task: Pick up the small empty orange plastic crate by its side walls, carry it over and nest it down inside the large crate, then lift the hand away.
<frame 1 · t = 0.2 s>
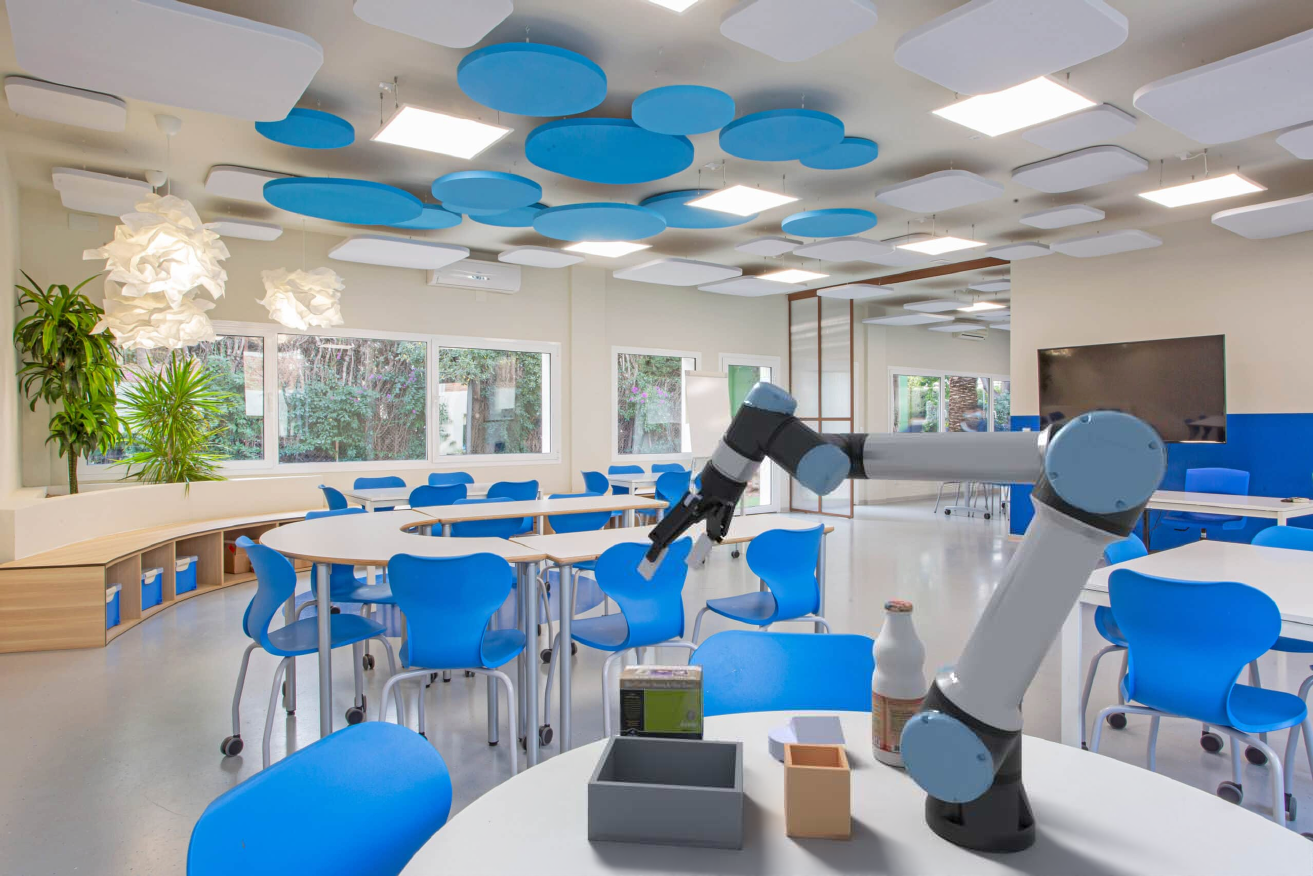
hand: (667, 570, 129), 35 cm above the table, tool tilted 35°, fingers open, 13 cm apart
large crate: (670, 813, 116), on the table
fruit juice: (898, 758, 137), on the table
small crate: (815, 822, 113), on the table
tea box: (662, 751, 140), on the table
wedge on round base: (803, 754, 139), on the table
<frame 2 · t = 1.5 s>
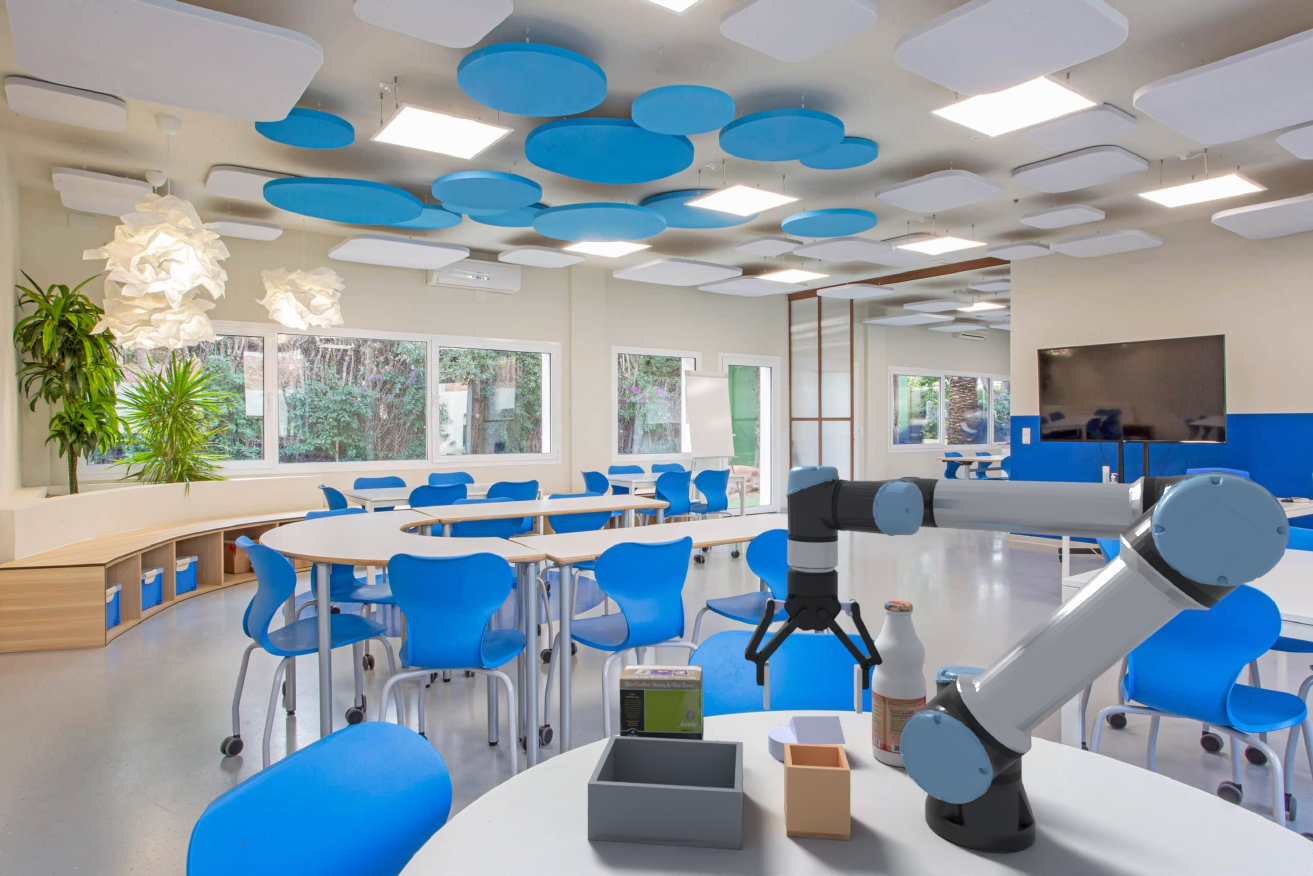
hand: (811, 708, 114), 17 cm above the table, tool pointing down, fingers open, 13 cm apart
nothing on the table moved.
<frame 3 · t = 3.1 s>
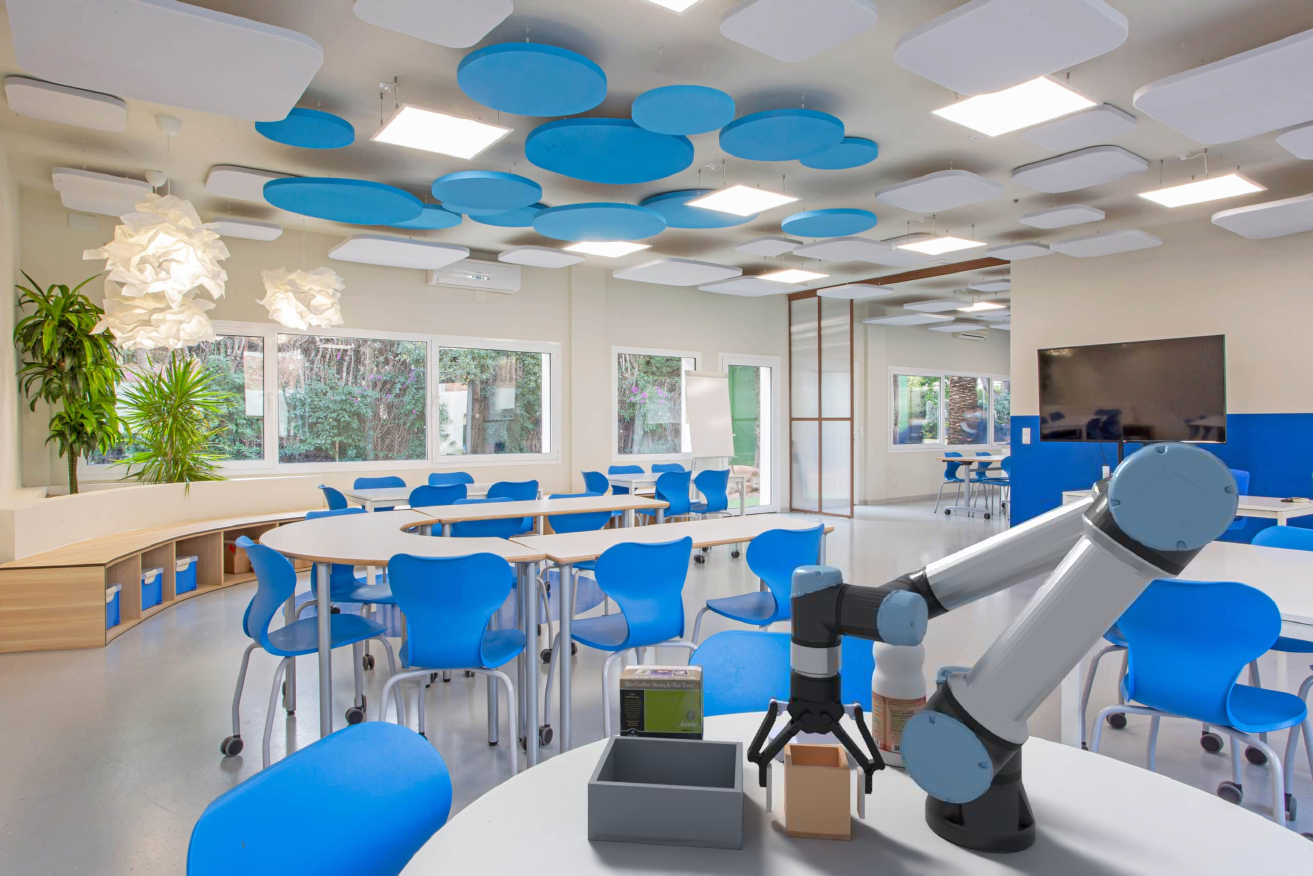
hand: (814, 811, 113), 2 cm above the table, tool pointing down, fingers open, 13 cm apart
nothing on the table moved.
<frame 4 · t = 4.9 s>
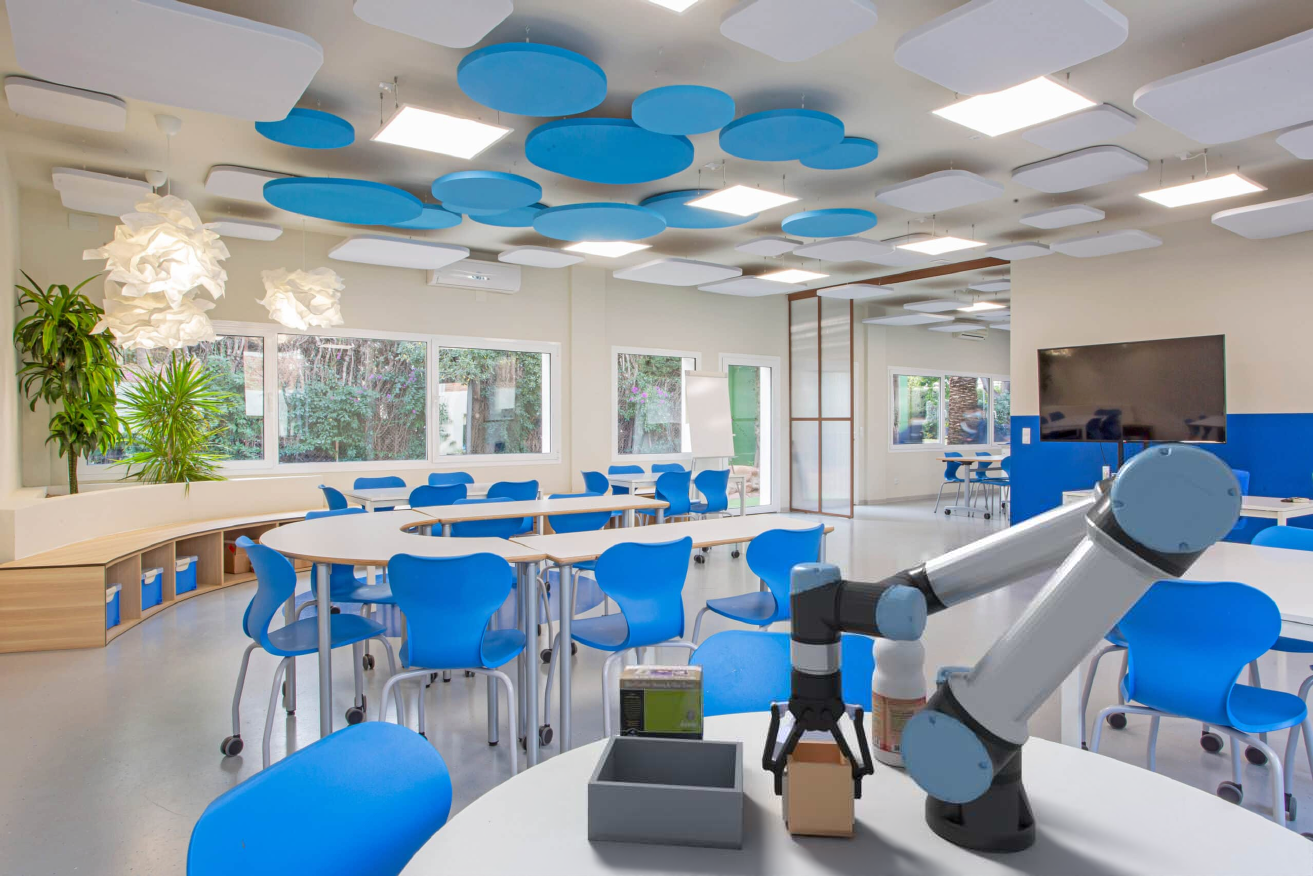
hand: (817, 817, 113), 1 cm above the table, tool pointing down, fingers closed on small crate, 9 cm apart
small crate: (817, 819, 113), point 1 cm above the table, touching gripper
everything else where it was.
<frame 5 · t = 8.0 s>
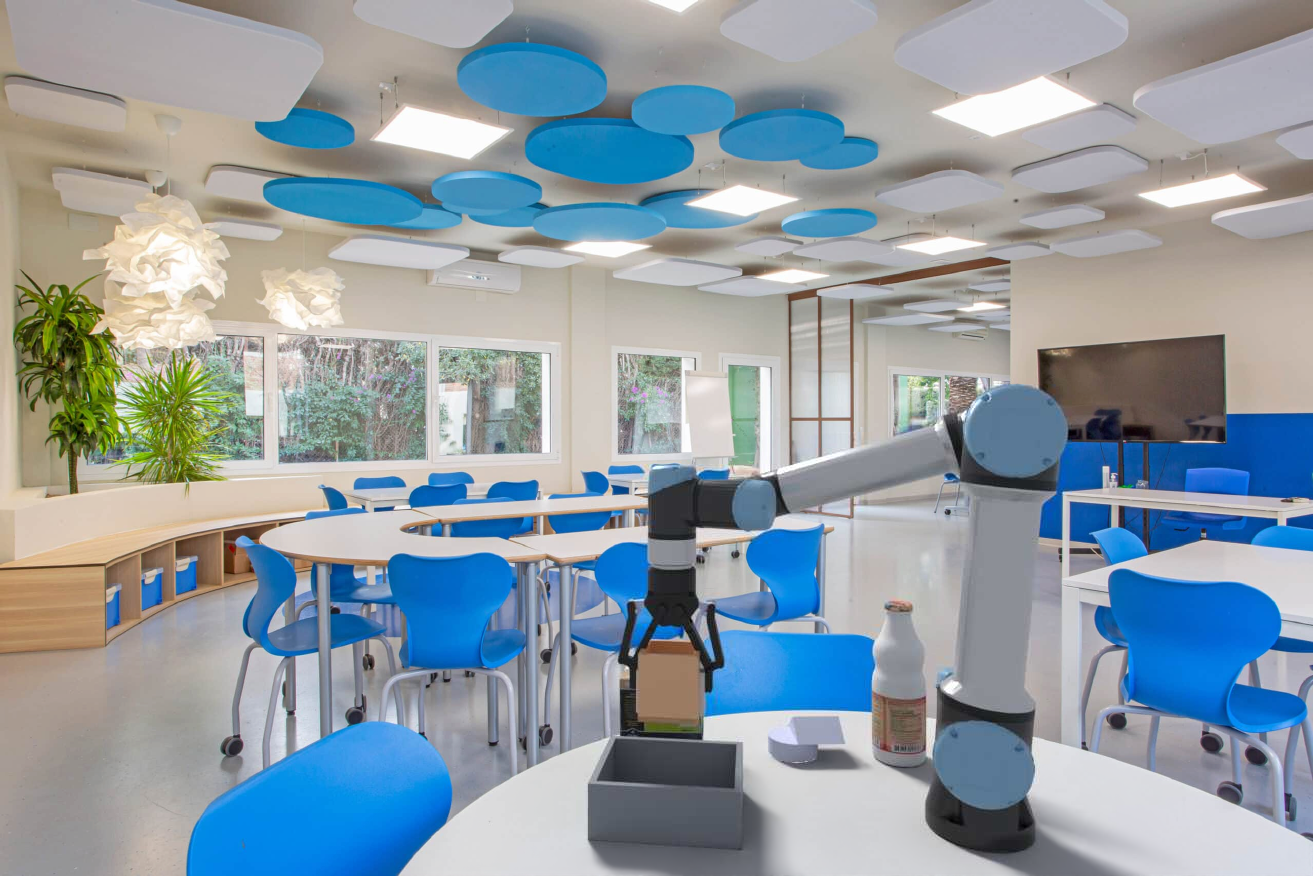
hand: (671, 711, 116), 16 cm above the table, tool pointing down, fingers closed on small crate, 9 cm apart
small crate: (671, 712, 116), point 16 cm above the table, touching gripper
everything else where it was.
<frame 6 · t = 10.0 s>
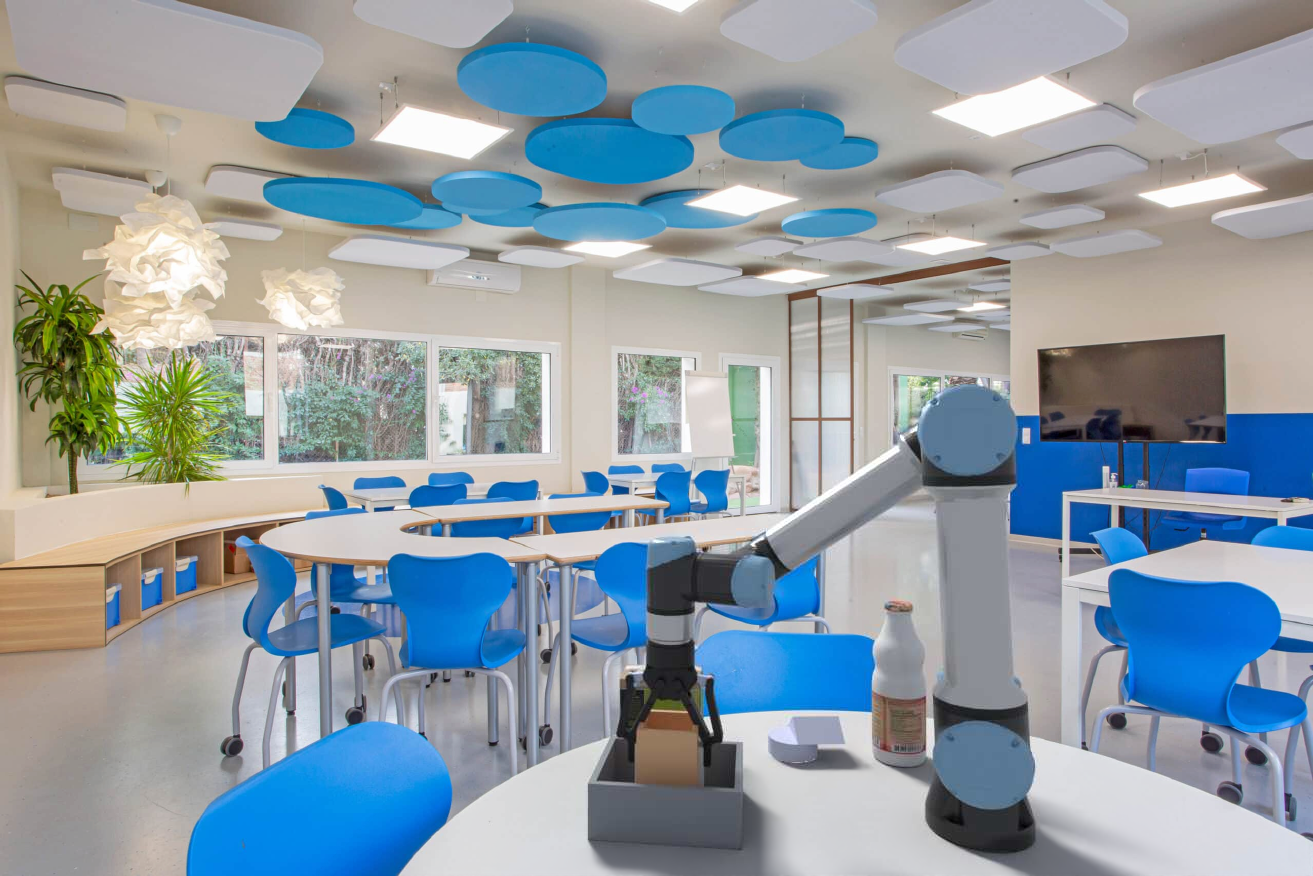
hand: (669, 784, 116), 4 cm above the table, tool pointing down, fingers closed on small crate, 9 cm apart
small crate: (669, 786, 116), point 4 cm above the table, touching gripper
everything else where it was.
when the fingers open (2 cm above the table, at t = 11.4 s): small crate drops 1 cm, resting on large crate.
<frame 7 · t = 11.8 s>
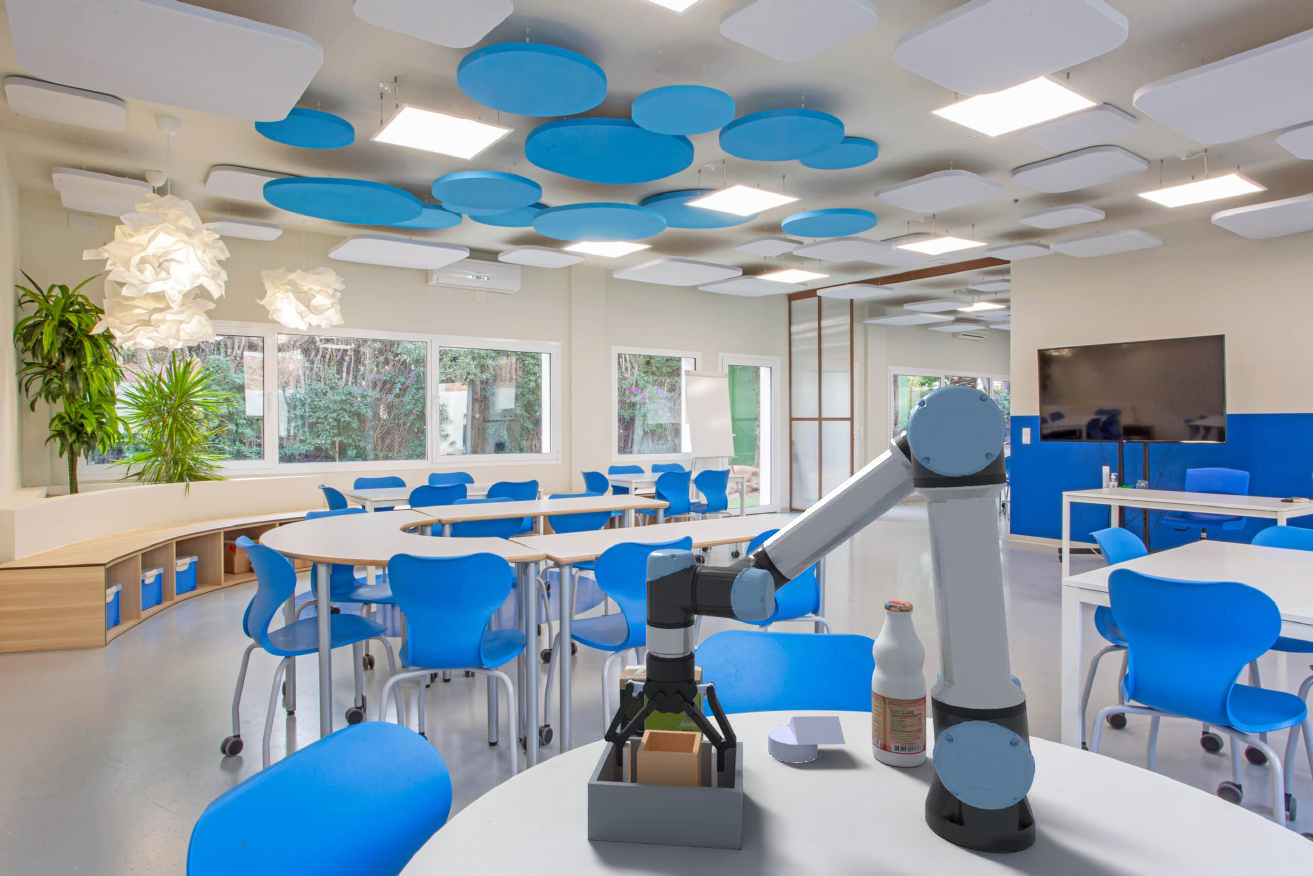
hand: (670, 789, 116), 4 cm above the table, tool pointing down, fingers open, 13 cm apart
small crate: (670, 807, 116), point 1 cm above the table, touching large crate
everything else where it was.
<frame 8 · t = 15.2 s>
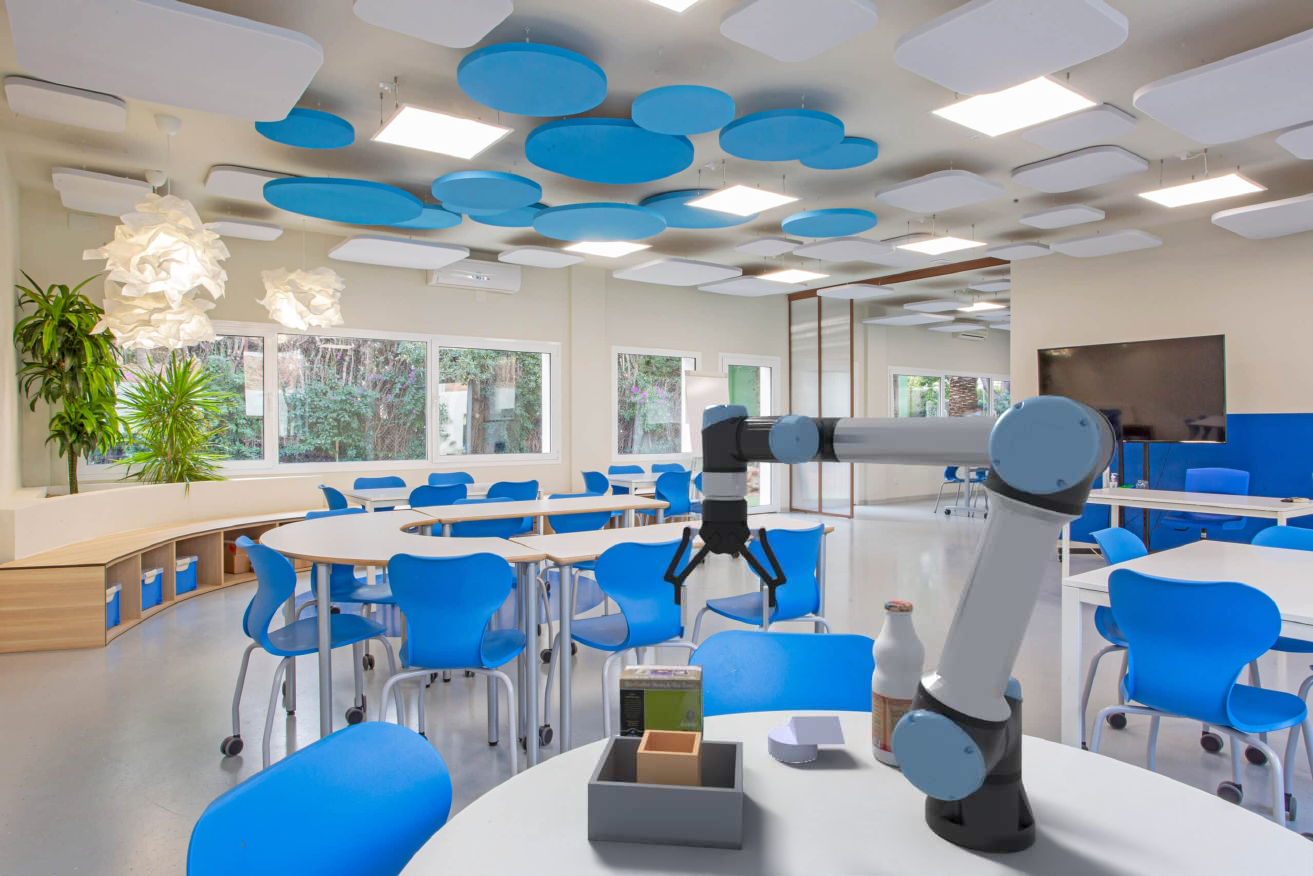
hand: (724, 626, 125), 27 cm above the table, tool pointing down, fingers open, 13 cm apart
nothing on the table moved.
at the end: small crate inside the target area on the large crate (0.0 cm from its centre), point 1.0 cm above the large crate's base; small crate tilted 0°; the gripper is holding nothing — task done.
